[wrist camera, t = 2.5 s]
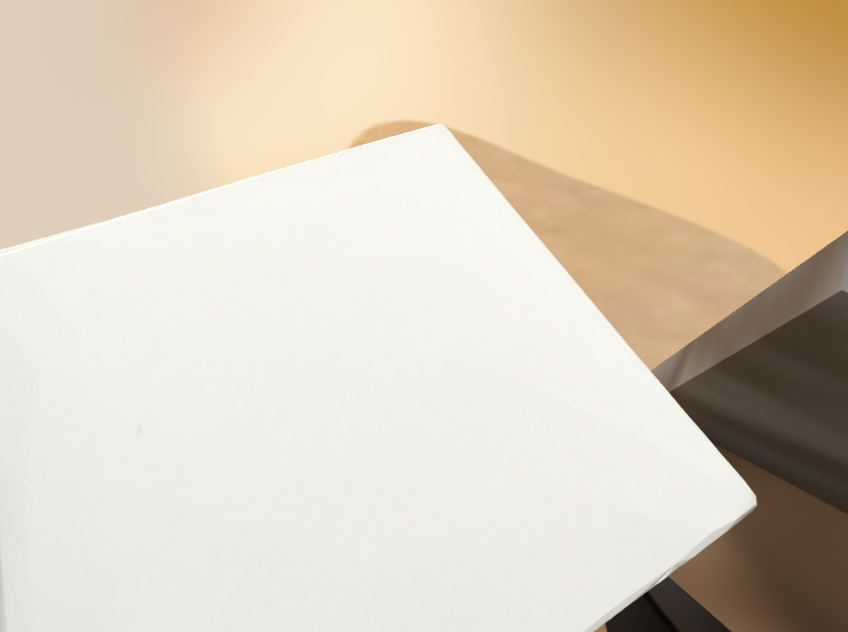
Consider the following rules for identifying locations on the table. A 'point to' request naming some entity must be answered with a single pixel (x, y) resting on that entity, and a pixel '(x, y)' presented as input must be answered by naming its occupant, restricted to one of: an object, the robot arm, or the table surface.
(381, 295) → the supplement box
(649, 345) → the table surface
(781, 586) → the ledge
